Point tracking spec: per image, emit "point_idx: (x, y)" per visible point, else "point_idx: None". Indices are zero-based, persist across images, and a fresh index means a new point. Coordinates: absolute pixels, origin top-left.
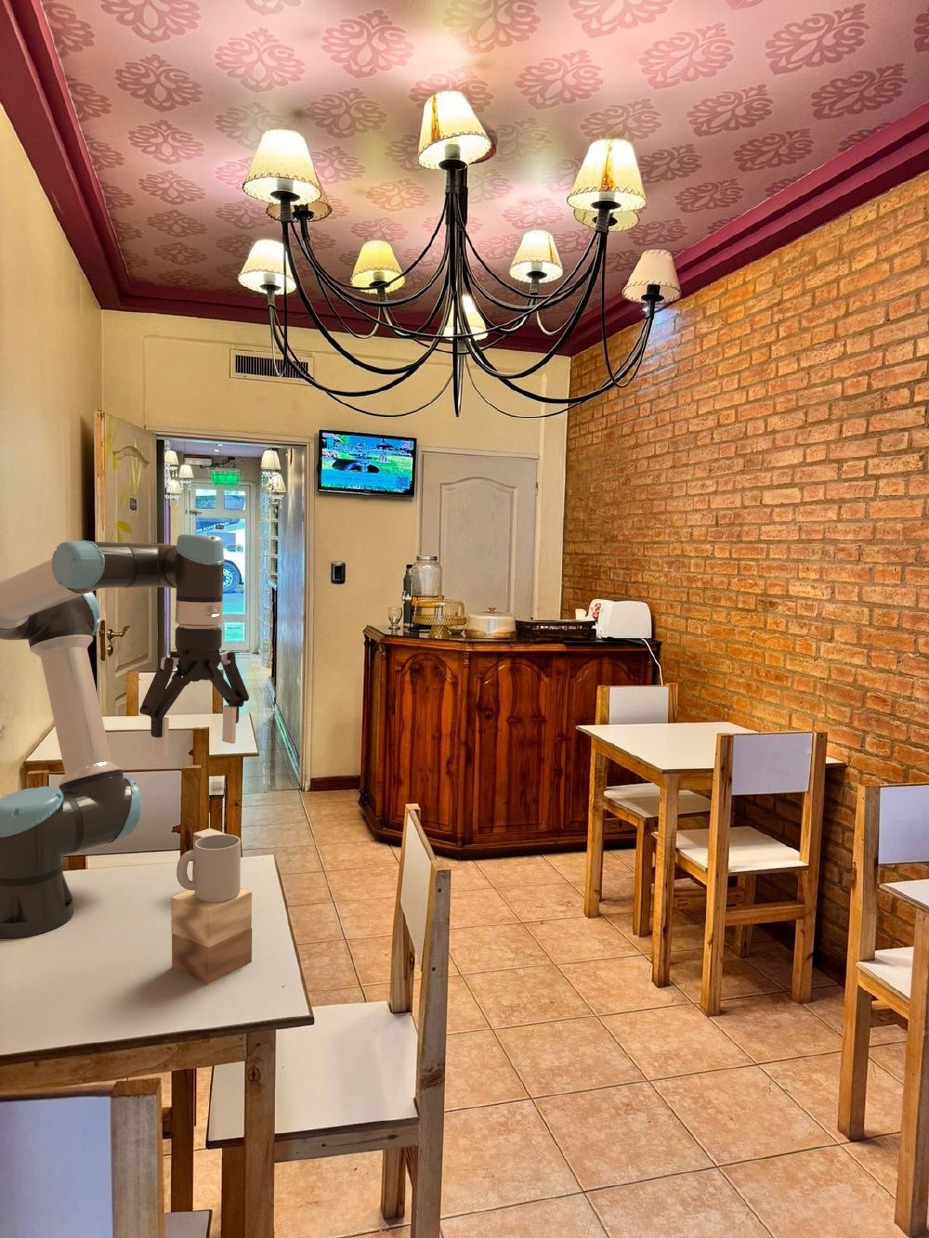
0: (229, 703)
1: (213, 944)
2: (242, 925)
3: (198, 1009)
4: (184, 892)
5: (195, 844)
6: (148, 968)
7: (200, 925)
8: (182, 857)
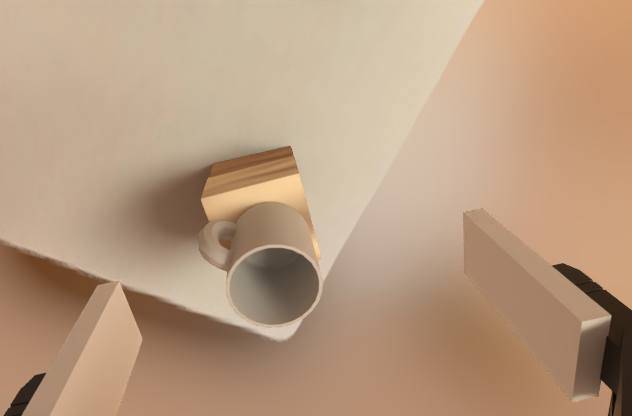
0: (617, 353)
1: None
2: None
3: (201, 275)
4: (228, 194)
5: (228, 276)
6: (184, 145)
7: None
8: (204, 256)
